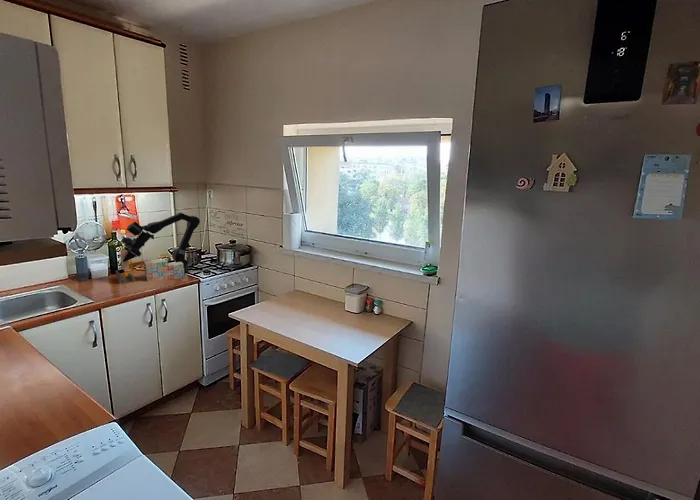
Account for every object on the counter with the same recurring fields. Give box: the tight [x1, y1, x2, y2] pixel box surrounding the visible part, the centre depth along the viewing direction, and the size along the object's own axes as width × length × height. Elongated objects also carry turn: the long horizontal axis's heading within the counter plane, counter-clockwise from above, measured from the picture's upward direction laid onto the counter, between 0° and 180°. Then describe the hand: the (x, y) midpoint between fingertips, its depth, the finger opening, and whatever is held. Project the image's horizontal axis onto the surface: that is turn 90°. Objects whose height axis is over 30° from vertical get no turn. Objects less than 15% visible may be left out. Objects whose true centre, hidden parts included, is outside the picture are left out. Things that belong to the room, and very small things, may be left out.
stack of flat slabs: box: [115, 270, 138, 285], centre depth 226 cm, size 9×12×6 cm
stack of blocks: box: [143, 258, 185, 282], centre depth 233 cm, size 21×6×12 cm, turn 127°
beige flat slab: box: [120, 248, 130, 272], centre depth 224 cm, size 2×6×12 cm, turn 41°
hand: (122, 260), depth 223 cm, fingers closed on beige flat slab, 6 cm apart
